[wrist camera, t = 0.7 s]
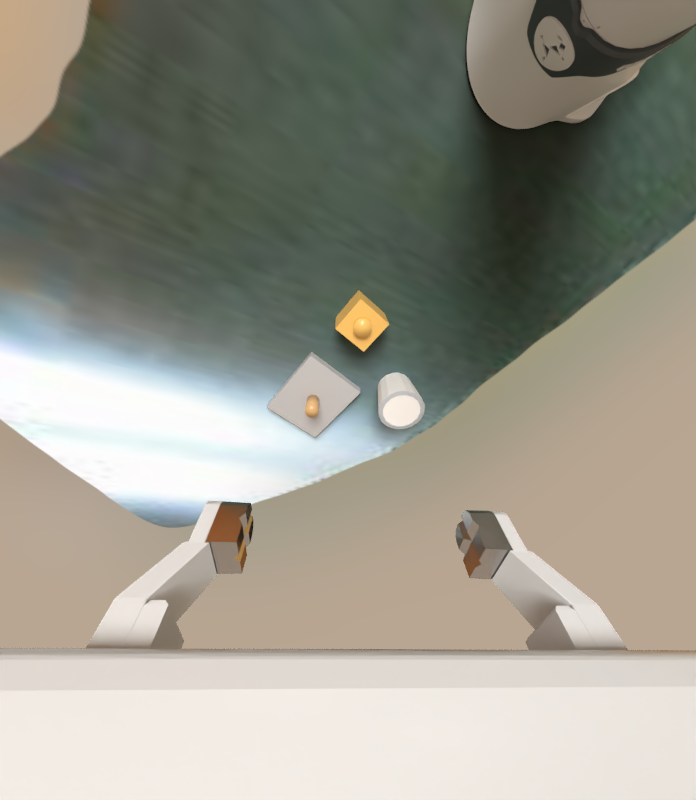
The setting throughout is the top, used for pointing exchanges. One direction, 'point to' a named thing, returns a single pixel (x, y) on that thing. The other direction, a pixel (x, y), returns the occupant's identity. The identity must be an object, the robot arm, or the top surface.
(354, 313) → the cube with dome knob
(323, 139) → the top surface
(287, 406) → the flat gray block
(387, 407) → the white cylinder
